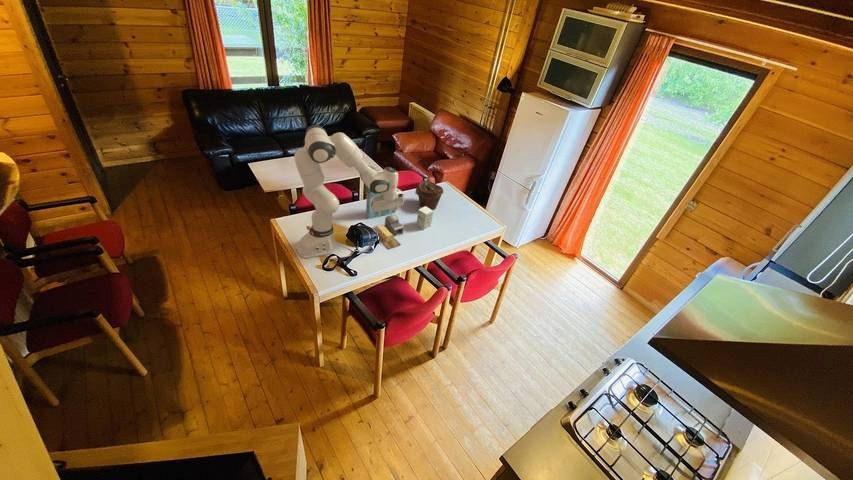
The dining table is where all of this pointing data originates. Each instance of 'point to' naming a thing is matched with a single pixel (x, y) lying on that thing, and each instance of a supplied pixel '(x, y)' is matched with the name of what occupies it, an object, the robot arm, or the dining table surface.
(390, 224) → the dispenser
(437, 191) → the brown plant pot
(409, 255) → the dining table surface
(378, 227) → the yellow block
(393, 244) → the brown wooden board
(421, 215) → the supplement box
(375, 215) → the gum box
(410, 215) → the dining table surface
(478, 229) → the dining table surface
